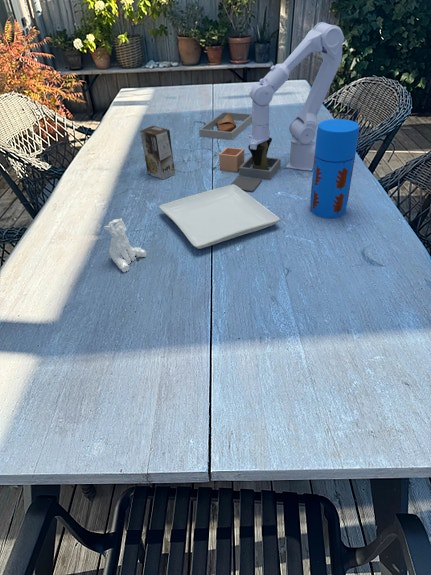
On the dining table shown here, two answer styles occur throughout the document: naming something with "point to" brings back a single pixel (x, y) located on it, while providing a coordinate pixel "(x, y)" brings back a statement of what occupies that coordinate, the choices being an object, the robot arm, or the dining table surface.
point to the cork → (264, 158)
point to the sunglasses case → (226, 124)
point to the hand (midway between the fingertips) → (260, 162)
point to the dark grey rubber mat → (247, 183)
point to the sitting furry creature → (122, 245)
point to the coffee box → (158, 151)
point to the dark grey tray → (209, 133)
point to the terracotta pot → (231, 159)
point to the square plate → (218, 215)
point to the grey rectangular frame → (259, 173)
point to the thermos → (333, 167)
